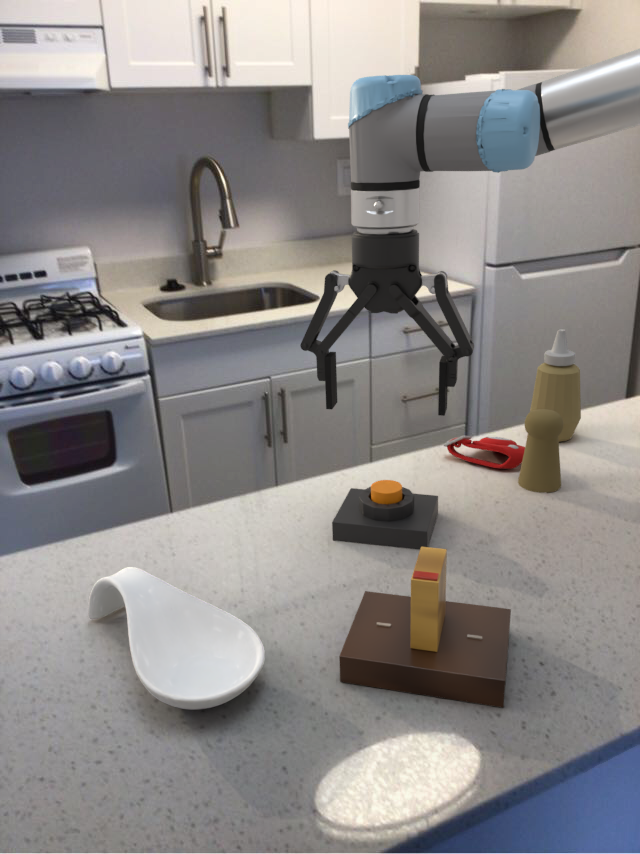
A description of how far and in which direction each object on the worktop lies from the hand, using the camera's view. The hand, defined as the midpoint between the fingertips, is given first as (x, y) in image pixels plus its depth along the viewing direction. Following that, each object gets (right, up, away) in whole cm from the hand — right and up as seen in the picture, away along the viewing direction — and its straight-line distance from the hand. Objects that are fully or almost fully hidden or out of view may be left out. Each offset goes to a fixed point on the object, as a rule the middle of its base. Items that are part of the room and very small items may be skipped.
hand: (386, 408), depth 92 cm
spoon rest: (-23, -26, -16) cm, 38 cm away
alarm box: (+1, -15, +7) cm, 17 cm away
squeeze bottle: (+31, -4, +34) cm, 46 cm away
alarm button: (+1, -11, +6) cm, 13 cm away
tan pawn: (+24, -11, +17) cm, 31 cm away
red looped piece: (+18, -7, +27) cm, 33 cm away
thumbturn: (+2, -22, -19) cm, 29 cm away
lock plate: (+3, -25, -18) cm, 30 cm away
